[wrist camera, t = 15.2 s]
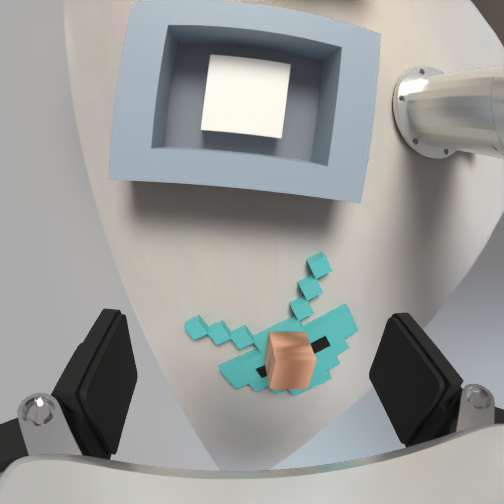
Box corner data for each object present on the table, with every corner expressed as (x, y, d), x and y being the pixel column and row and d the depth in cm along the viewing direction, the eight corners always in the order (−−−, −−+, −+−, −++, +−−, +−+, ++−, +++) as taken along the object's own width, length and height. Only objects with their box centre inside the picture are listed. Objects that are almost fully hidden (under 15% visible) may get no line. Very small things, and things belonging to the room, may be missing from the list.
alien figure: (185, 319, 40) (255, 401, 47) (184, 328, 38) (256, 411, 45) (320, 249, 38) (364, 350, 45) (325, 256, 36) (369, 358, 43)
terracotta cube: (305, 331, 40) (316, 360, 34) (298, 359, 42) (307, 388, 36) (268, 330, 39) (275, 360, 34) (264, 359, 41) (269, 389, 35)
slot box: (354, 49, 29) (380, 33, 22) (336, 190, 35) (360, 203, 28) (149, 23, 26) (133, 1, 19) (130, 171, 32) (108, 179, 25)
